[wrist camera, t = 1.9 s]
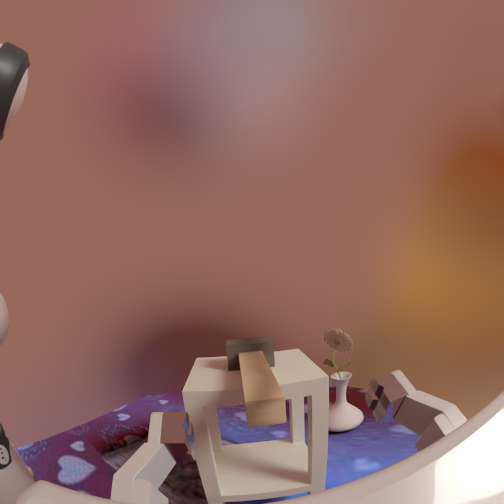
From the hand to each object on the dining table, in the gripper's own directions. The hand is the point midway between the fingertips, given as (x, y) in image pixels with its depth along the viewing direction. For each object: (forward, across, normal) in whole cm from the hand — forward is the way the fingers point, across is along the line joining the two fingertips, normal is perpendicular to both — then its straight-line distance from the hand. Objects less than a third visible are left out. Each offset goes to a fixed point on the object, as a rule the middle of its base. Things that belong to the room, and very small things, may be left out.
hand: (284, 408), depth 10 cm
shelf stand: (+7, 0, +39) cm, 40 cm away
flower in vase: (+26, -22, +50) cm, 60 cm away
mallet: (+13, 0, +13) cm, 19 cm away
